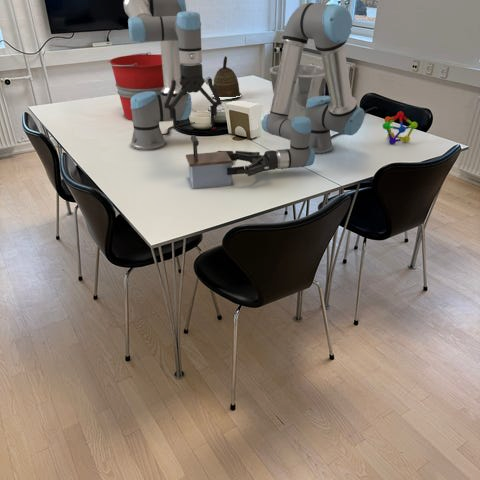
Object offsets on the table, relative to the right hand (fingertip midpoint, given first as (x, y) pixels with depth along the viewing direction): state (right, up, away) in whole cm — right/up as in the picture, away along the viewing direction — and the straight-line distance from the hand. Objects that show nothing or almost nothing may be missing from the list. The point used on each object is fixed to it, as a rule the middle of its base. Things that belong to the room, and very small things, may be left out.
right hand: (223, 164), depth 170 cm
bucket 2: (+36, +32, +63) cm, 79 cm away
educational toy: (+81, +17, +41) cm, 92 cm away
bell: (-2, +62, +112) cm, 128 cm away
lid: (-6, +1, -2) cm, 6 cm away
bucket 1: (-46, +42, +79) cm, 100 cm away
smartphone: (0, +6, +23) cm, 24 cm away
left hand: (-10, +12, -10) cm, 19 cm away
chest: (-5, -6, +3) cm, 8 cm away
